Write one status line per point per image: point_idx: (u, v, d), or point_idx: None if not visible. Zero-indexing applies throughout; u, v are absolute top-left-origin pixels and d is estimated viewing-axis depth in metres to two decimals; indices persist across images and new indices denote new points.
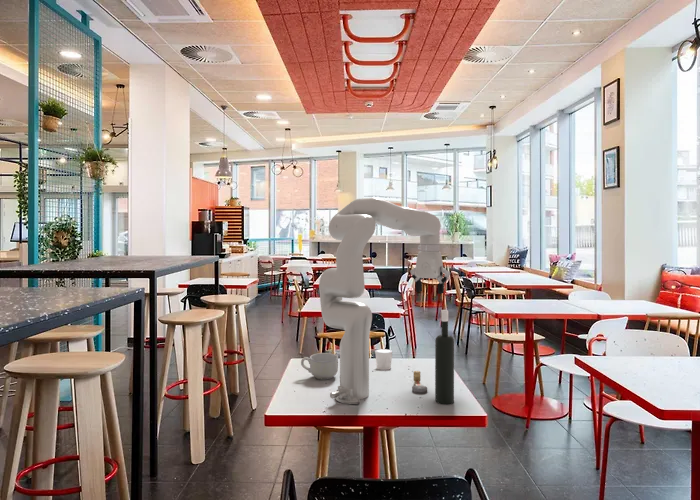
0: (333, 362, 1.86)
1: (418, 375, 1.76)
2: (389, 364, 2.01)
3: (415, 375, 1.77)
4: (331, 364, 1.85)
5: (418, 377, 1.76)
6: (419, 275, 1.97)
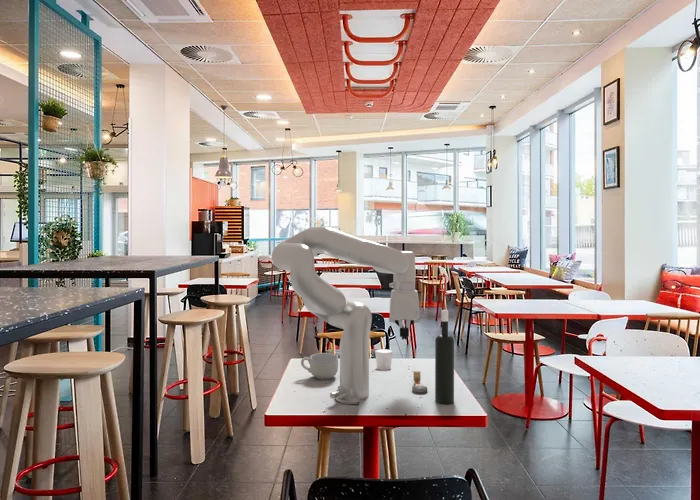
0: (333, 362, 1.86)
1: (418, 375, 1.76)
2: (389, 364, 2.01)
3: (415, 375, 1.77)
4: (331, 364, 1.85)
5: (418, 377, 1.76)
6: (396, 317, 1.74)
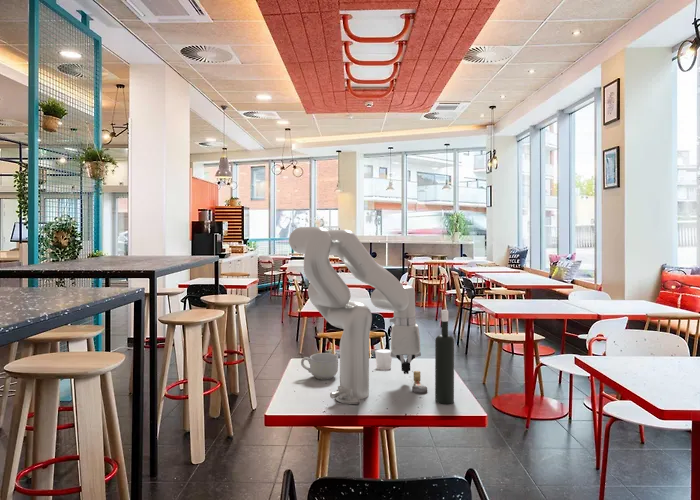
0: (333, 362, 1.86)
1: (418, 375, 1.76)
2: (389, 364, 2.01)
3: (415, 375, 1.77)
4: (331, 364, 1.85)
5: (418, 377, 1.76)
6: (397, 352, 1.75)
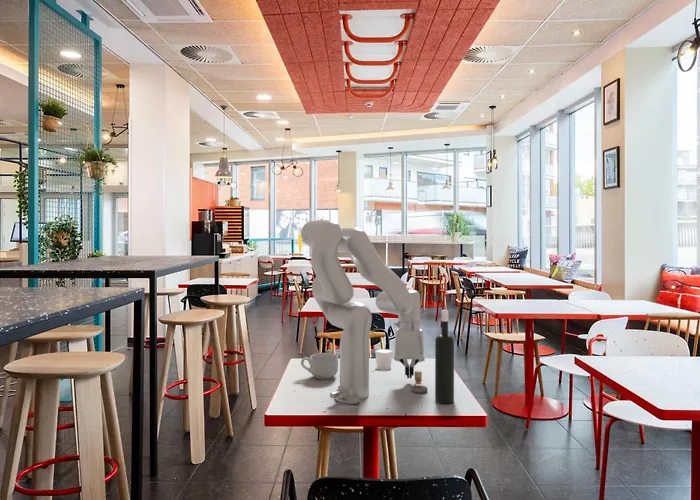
0: (333, 362, 1.86)
1: (419, 375, 1.76)
2: (389, 364, 2.01)
3: (416, 375, 1.77)
4: (331, 364, 1.85)
5: (419, 377, 1.76)
6: (400, 356, 1.75)
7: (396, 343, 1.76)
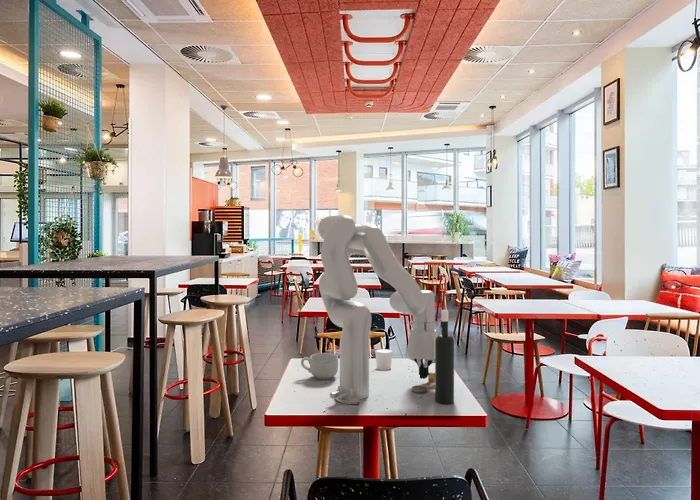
0: (333, 362, 1.86)
1: (431, 376, 1.75)
2: (389, 364, 2.01)
3: (428, 376, 1.75)
4: (331, 364, 1.85)
5: (431, 378, 1.75)
6: (412, 355, 1.77)
7: (409, 342, 1.77)
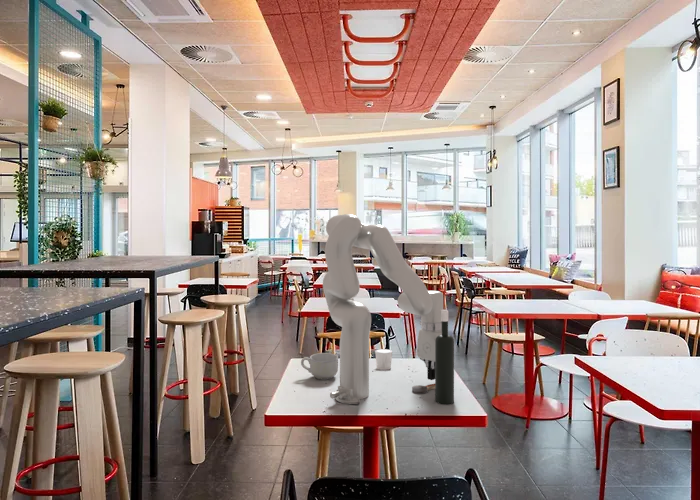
0: (333, 362, 1.86)
1: None
2: (389, 364, 2.01)
3: None
4: (331, 364, 1.85)
5: None
6: (420, 355, 1.76)
7: (418, 342, 1.78)
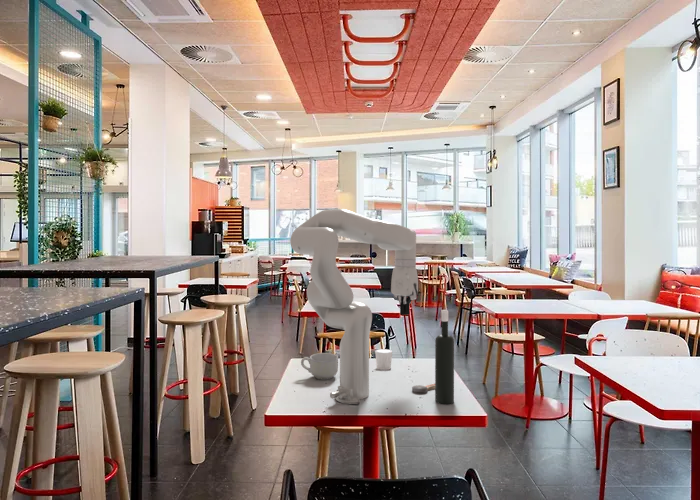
0: (333, 362, 1.86)
1: None
2: (389, 364, 2.01)
3: None
4: (331, 364, 1.85)
5: None
6: (393, 292, 1.85)
7: (392, 279, 1.86)
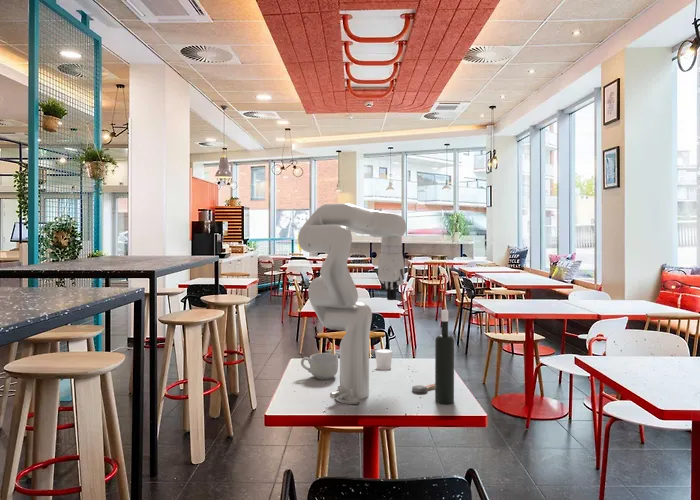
0: (333, 362, 1.86)
1: None
2: (389, 364, 2.01)
3: None
4: (331, 364, 1.85)
5: None
6: (380, 278, 1.89)
7: (378, 266, 1.91)
